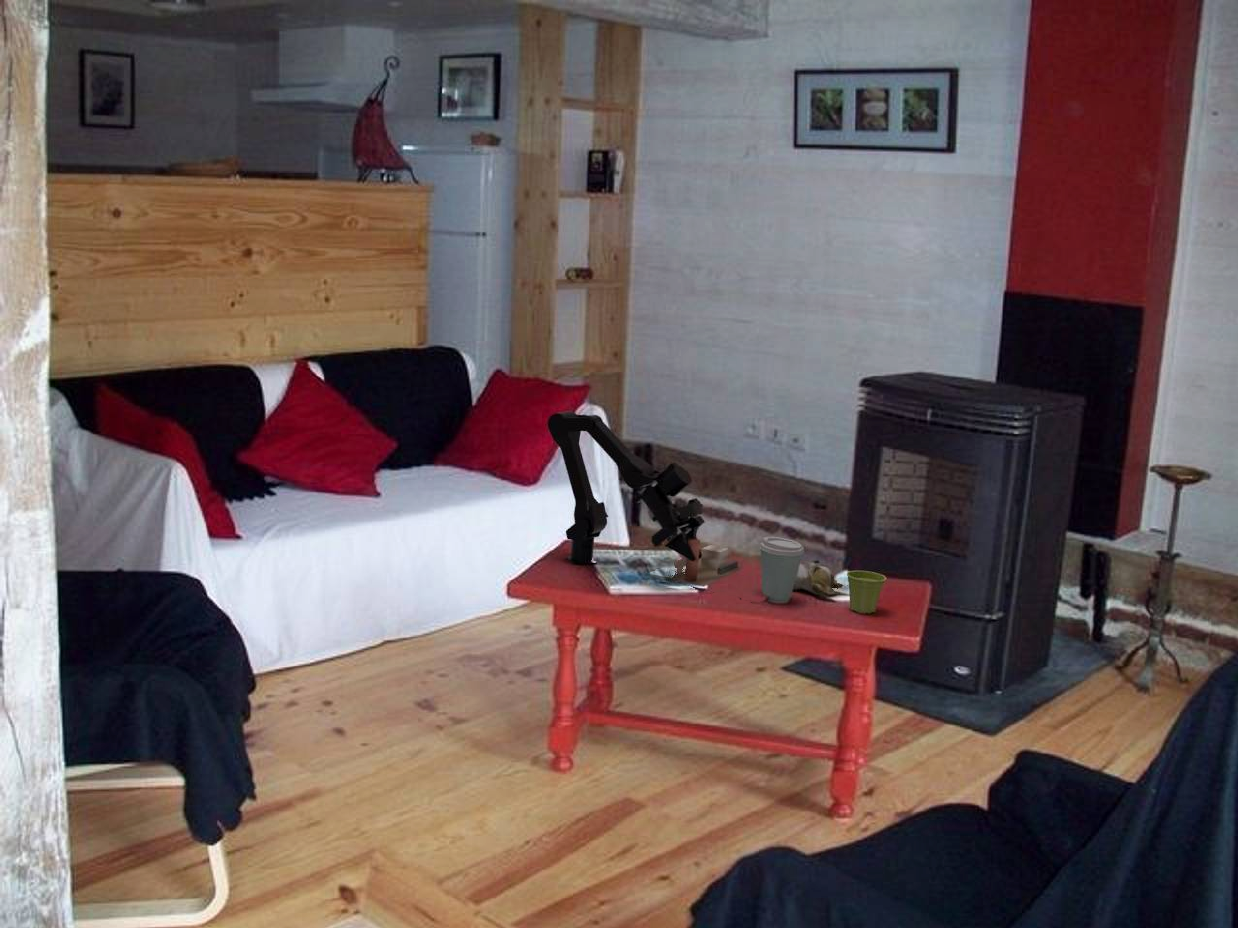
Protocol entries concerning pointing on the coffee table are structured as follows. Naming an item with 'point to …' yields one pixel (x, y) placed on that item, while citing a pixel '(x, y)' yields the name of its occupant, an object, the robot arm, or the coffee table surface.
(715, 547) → the pale ash cube
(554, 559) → the coffee table surface
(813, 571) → the ceramic sculpture
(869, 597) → the plant pot
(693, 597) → the coffee table surface
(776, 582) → the disposable coffee cup
